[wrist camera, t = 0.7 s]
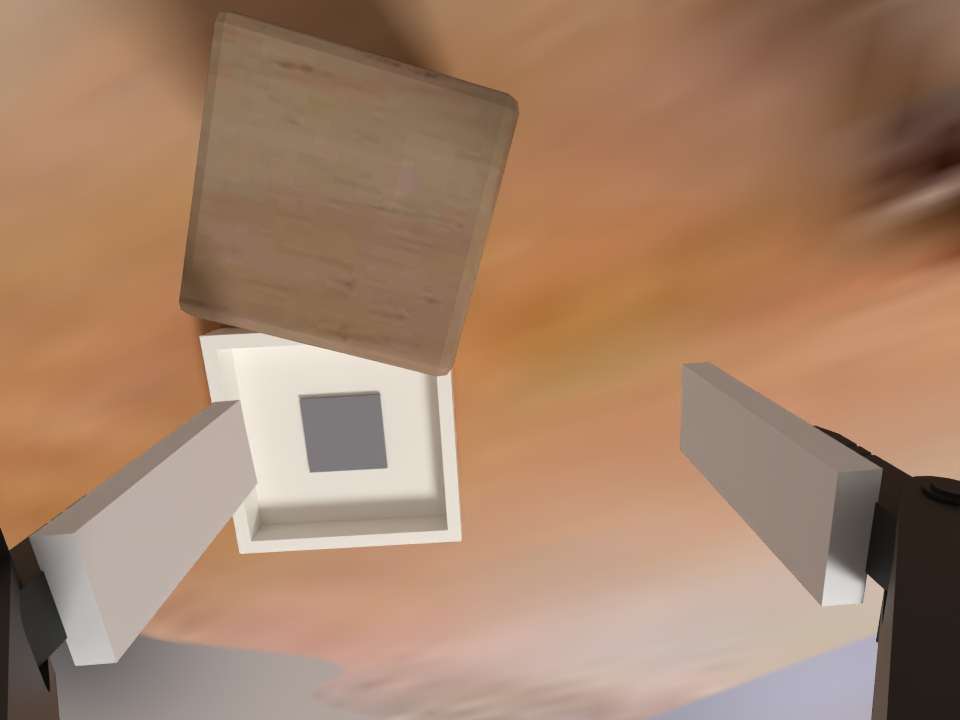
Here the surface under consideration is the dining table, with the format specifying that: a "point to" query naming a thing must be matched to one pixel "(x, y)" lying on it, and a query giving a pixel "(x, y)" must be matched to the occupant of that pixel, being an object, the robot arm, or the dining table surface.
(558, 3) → the dining table surface
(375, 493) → the dish
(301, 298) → the wooden block
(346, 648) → the dining table surface
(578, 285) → the dining table surface
